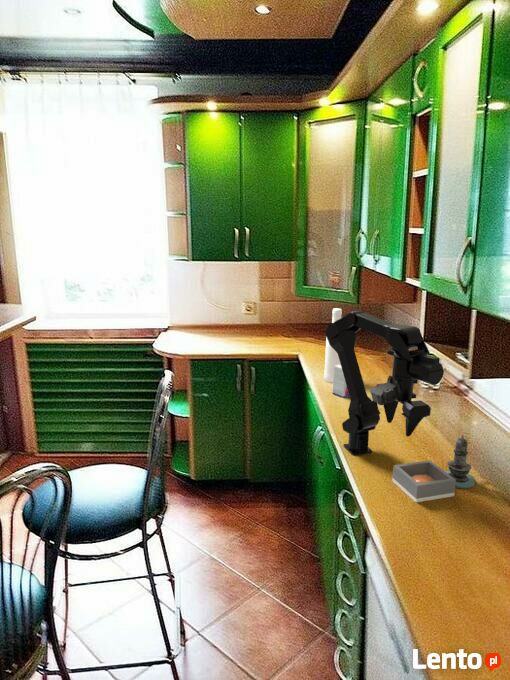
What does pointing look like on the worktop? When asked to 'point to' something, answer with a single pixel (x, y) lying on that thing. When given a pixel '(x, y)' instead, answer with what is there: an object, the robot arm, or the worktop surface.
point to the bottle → (331, 352)
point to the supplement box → (339, 383)
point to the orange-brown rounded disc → (422, 478)
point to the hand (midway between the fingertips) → (398, 429)
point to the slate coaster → (465, 485)
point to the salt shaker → (460, 462)
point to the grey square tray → (427, 490)
